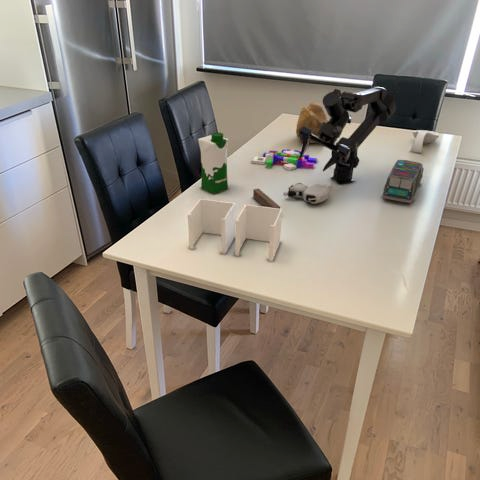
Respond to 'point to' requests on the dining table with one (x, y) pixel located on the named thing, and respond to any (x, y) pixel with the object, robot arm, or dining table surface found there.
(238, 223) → the storage bins
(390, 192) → the toy van
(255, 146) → the dining table surface
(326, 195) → the robot toy
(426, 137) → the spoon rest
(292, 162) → the building block set
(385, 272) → the dining table surface
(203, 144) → the milk carton
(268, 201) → the walnut kerb
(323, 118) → the rough brown rock
